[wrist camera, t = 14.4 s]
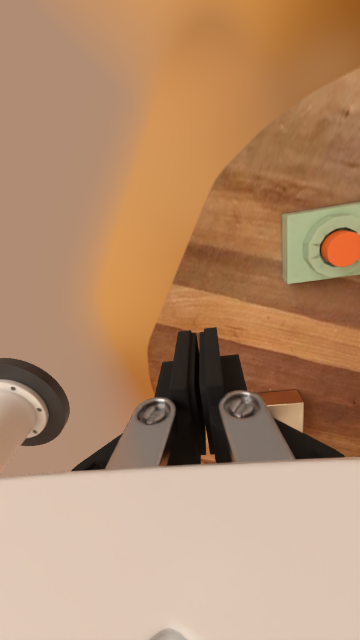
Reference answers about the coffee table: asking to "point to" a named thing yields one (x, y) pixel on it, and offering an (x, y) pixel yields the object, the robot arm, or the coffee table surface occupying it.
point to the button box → (316, 242)
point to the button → (341, 248)
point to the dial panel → (285, 407)
